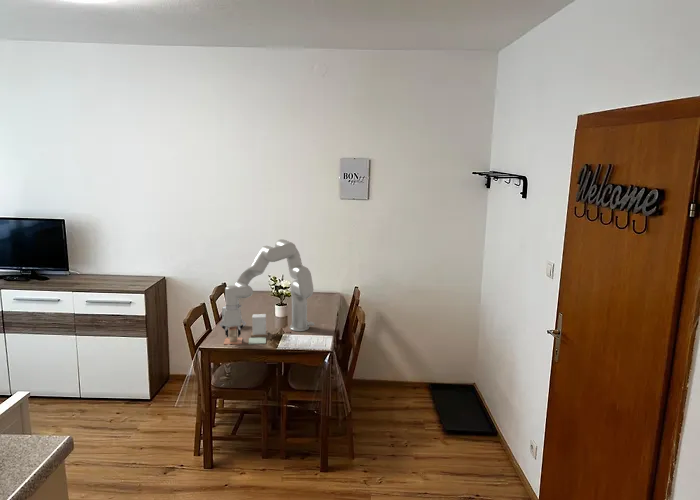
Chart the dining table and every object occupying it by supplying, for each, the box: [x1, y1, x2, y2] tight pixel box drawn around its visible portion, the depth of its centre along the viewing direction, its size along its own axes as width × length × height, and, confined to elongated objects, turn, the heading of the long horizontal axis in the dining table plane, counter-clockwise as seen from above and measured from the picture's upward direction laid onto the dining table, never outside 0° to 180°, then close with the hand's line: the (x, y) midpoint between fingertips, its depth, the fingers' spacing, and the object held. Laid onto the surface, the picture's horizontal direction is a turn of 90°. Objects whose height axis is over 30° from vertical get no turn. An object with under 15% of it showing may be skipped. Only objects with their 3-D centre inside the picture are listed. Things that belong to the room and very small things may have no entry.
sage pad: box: [248, 337, 267, 345], centre depth 298 cm, size 10×9×1 cm
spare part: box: [228, 326, 238, 342], centre depth 296 cm, size 4×4×8 cm
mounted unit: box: [250, 313, 269, 338], centre depth 308 cm, size 10×8×12 cm
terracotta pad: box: [223, 337, 243, 346], centre depth 297 cm, size 10×9×1 cm
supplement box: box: [221, 305, 235, 328], centre depth 323 cm, size 7×7×13 cm
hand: (233, 335), depth 296 cm, fingers open, 6 cm apart
